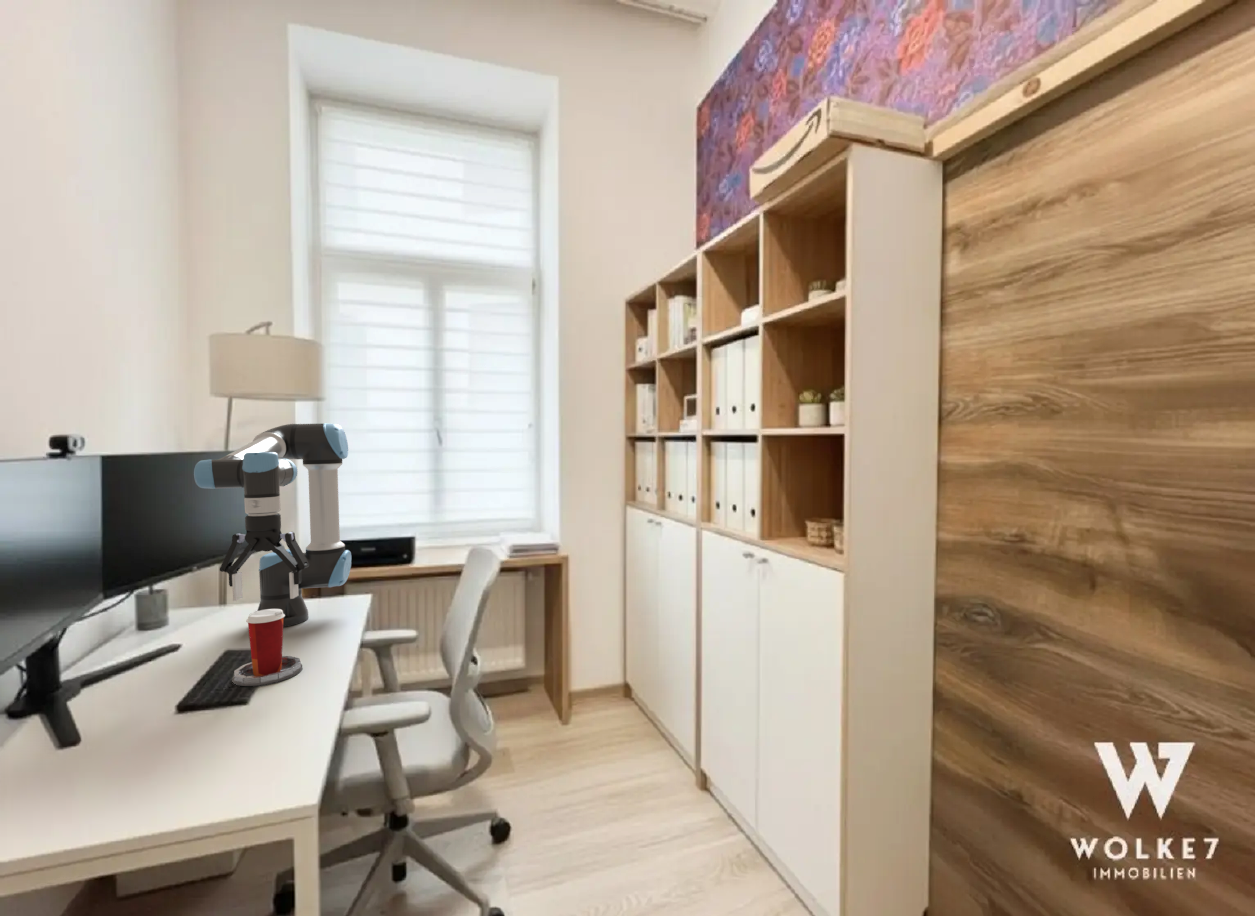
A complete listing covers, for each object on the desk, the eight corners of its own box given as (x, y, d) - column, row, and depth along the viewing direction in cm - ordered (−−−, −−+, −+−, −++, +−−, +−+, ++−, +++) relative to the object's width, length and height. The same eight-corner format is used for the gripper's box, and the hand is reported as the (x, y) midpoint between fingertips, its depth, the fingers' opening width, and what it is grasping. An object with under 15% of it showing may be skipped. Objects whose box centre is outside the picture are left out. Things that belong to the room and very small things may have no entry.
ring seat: (254, 664, 152) (254, 656, 152) (313, 661, 153) (313, 654, 153) (217, 688, 137) (217, 680, 137) (283, 685, 138) (283, 677, 138)
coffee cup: (294, 666, 148) (292, 608, 148) (271, 679, 140) (269, 617, 140) (263, 665, 149) (261, 607, 149) (239, 678, 141) (237, 617, 141)
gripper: (200, 517, 139) (204, 604, 140) (307, 514, 141) (310, 600, 142) (220, 512, 147) (223, 595, 147) (321, 510, 148) (324, 592, 149)
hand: (266, 598), depth 145 cm, fingers open, 13 cm apart
